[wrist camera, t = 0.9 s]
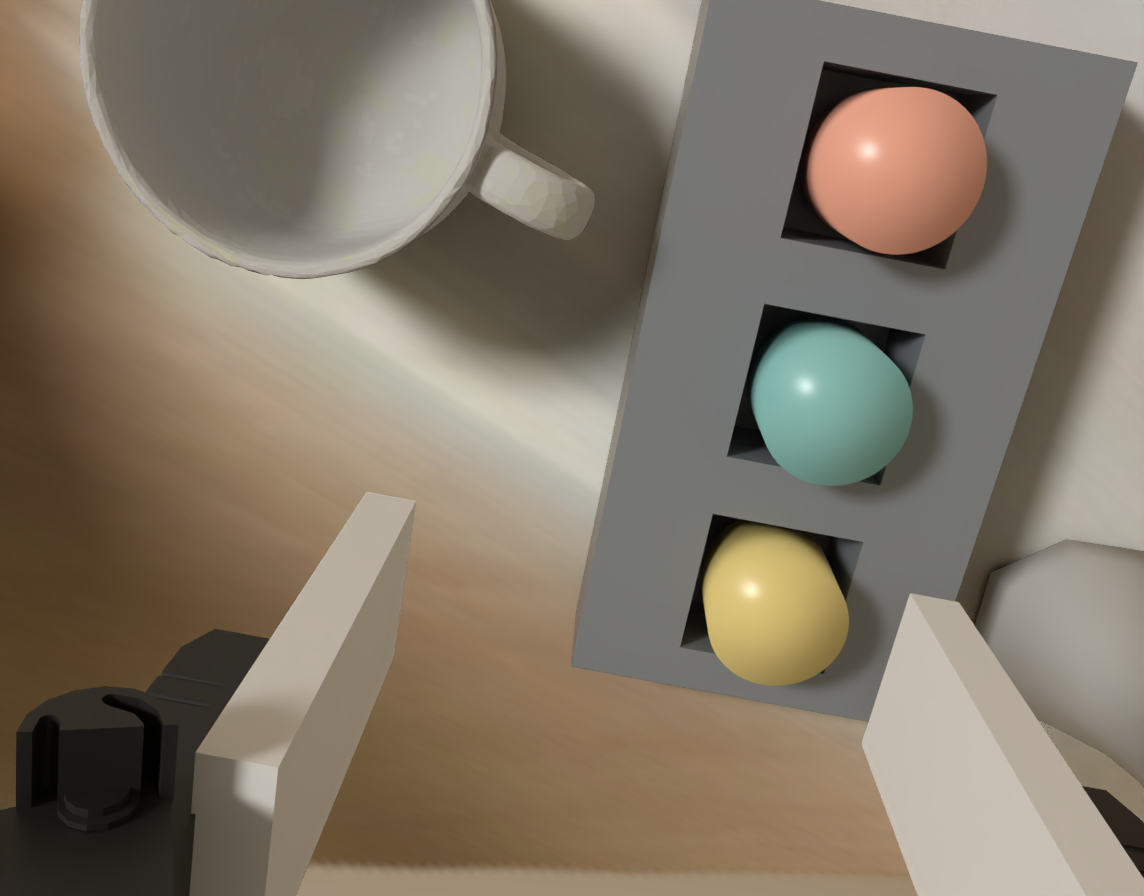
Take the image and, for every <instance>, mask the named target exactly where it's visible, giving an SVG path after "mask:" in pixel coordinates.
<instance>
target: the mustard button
mask: <svg viewBox="0 0 1144 896" xmlns="http://www.w3.org/2000/svg"><path fill="white" fill-rule="evenodd" d="M700 583H701V590H702V596H703V603H704V609H705V615H706V621H707V628H708V634H709V639H710V642H711V645H712V648H713V650H714V652H715V654H716V655H717V657H718V658H719V660H720V661H721V662H722V663H723V664H724V665H725V666H726V667H727V668H728V669H729V670H730V671H731V672H733V673H734V674H736V675H737V676H739V677H741V678H743V679H745V680H748V681H750V682H753V683H757V684H761V685H768V686H783V685H790V684H795V683H799V682H802V681H805V680H807V679H809V678H811V677H813V676H815V675H817V674H818V673H820V672H822V671H823V670H824V669H825V668H827V667H828V666H829V665H830V664H831V663H832V662H833V661H834V660H835V658H836V657H837V656H838V654H839V653H840V651H841V649H842V647H843V646H844V643H845V641H846V638H847V634H848V629H849V613H848V608H847V604H846V602H845V599H844V597H843V595H842V592H841V590H840V588H839V585H838V583H837V581H836V579H835V576H834V574H833V572H832V570H831V567H830V565H829V563H828V561H827V558H826V556H825V554H824V552H823V549H822V547H821V546H820V544H819V542H818V541H817V539H816V538H815V537H814V536H813V535H812V534H811V533H810V532H807V531H802V530H796V529H791V528H786V527H781V526H775V525H770V524H765V523H759V522H754V521H749V520H743V519H742V520H739V521H737V522H735V523H733V524H731V525H729V526H728V527H726V528H725V529H723V530H722V531H721V532H720V533H719V534H717V535H716V536H715V538H714V539H713V540H712V541H711V543H710V544H709V546H708V547H707V549H706V551H705V553H704V555H703V558H702V561H701V566H700Z"/></svg>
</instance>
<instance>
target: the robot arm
mask: <svg viewBox="0 0 1144 896" xmlns="http://www.w3.org/2000/svg"><path fill="white" fill-rule="evenodd" d="M415 506H416V501H414V500H409V499H403V498H398V497H393V496H387V495H382V494H377V493H371V492H366V493H365V495H364V496H363V498H362V499H361V501H360V502H359V504H358V505H357V507H356V509H355V510H354V512H353V513H352V515H351V516H350V518H349V519H348V521H347V522H346V524H345V525H344V527H343V528H342V530H341V531H340V533H339V534H338V536H337V537H336V539H335V541H334V542H333V544H332V545H331V547H330V548H329V550H328V551H327V553H326V554H325V556H324V557H323V559H322V560H321V562H320V563H319V565H318V566H317V568H316V569H315V571H314V573H313V574H312V576H311V577H310V579H309V580H308V582H307V583H306V585H305V586H304V588H303V589H302V591H301V592H300V594H299V595H298V597H297V598H296V600H295V602H294V603H293V605H292V606H291V608H290V609H289V611H288V612H287V614H286V615H285V617H284V618H283V620H282V621H281V623H280V624H279V626H278V627H277V629H276V630H275V632H274V634H273V635H272V637H271V638H270V639H267V638H262V637H256V636H251V635H245V634H240V633H235V632H229V631H224V630H218V629H214V630H212V631H211V632H209V633H207V634H205V635H203V636H201V637H199V638H198V639H196V640H194V641H192V642H190V643H188V644H186V645H184V646H183V647H181V649H180V650H179V651H178V652H177V654H176V655H175V656H174V657H173V659H172V660H171V661H170V662H169V664H168V665H167V666H166V667H165V669H164V670H163V671H162V675H161V676H158V677H157V678H156V680H155V681H154V682H153V683H152V685H151V686H150V687H149V688H148V690H147V691H146V693H145V692H142V691H139V690H136V689H131V688H117V687H98V688H91V689H83V690H76V691H72V692H69V693H67V694H64V695H61V696H58V697H56V698H53V699H50V700H47V701H46V702H44V703H43V704H42V705H40V706H39V707H37V708H36V709H34V710H33V711H32V712H30V713H29V714H27V715H26V717H25V719H24V721H23V722H22V724H21V726H20V727H19V729H18V731H17V740H16V807H12V808H8V809H3V810H0V896H296V894H297V891H298V889H299V886H300V884H301V882H302V879H303V877H304V874H305V872H306V870H307V867H308V865H309V862H310V860H311V857H312V855H313V853H314V850H315V848H316V845H317V843H318V840H319V838H320V836H321V833H322V831H323V828H324V826H325V823H326V821H327V819H328V816H329V814H330V811H331V809H332V806H333V804H334V802H335V799H336V797H337V794H338V792H339V789H340V787H341V785H342V782H343V780H344V777H345V775H346V772H347V770H348V768H349V765H350V763H351V760H352V758H353V755H354V753H355V751H356V748H357V746H358V743H359V741H360V738H361V736H362V734H363V731H364V729H365V726H366V724H367V721H368V719H369V717H370V714H371V712H372V709H373V707H374V704H375V702H376V700H377V697H378V695H379V692H380V690H381V687H382V685H383V683H384V680H385V678H386V675H387V673H388V670H389V668H390V666H391V663H392V661H393V658H394V653H395V646H396V639H397V632H398V625H399V618H400V611H401V604H402V597H403V590H404V583H405V576H406V569H407V562H408V555H409V548H410V541H411V534H412V527H413V520H414V513H415ZM862 747H863V749H864V752H865V755H866V757H867V760H868V763H869V765H870V768H871V771H872V774H873V776H874V779H875V782H876V784H877V787H878V790H879V792H880V795H881V798H882V801H883V803H884V806H885V809H886V811H887V814H888V817H889V819H890V822H891V825H892V828H893V830H894V833H895V836H896V838H897V841H898V844H899V846H900V849H901V852H902V855H903V857H904V860H905V863H906V865H907V868H908V871H909V873H910V876H911V879H912V882H913V884H914V887H915V890H916V892H917V895H918V896H1144V823H1143V822H1142V820H1140V819H1139V818H1138V817H1137V816H1136V815H1135V814H1133V813H1132V812H1131V811H1130V810H1129V809H1127V808H1126V807H1125V806H1124V805H1123V804H1122V803H1120V802H1119V801H1118V800H1117V799H1116V798H1114V797H1113V796H1112V795H1111V794H1110V793H1109V792H1107V791H1106V790H1101V789H1095V788H1090V787H1085V786H1081V784H1080V783H1079V781H1078V780H1077V778H1076V777H1075V775H1074V774H1073V772H1072V771H1071V769H1070V768H1069V766H1068V765H1067V763H1066V762H1065V760H1064V759H1063V757H1062V756H1061V754H1060V753H1059V751H1058V750H1057V748H1056V747H1055V745H1054V744H1053V742H1052V741H1051V739H1050V738H1049V736H1048V735H1047V733H1046V732H1045V730H1044V729H1043V727H1042V726H1041V724H1040V723H1039V721H1038V720H1037V718H1036V717H1035V715H1034V714H1033V712H1032V711H1031V709H1030V708H1029V706H1028V705H1027V703H1026V702H1025V700H1024V699H1023V697H1022V696H1021V694H1020V693H1019V691H1018V690H1017V688H1016V687H1015V685H1014V684H1013V682H1012V681H1011V679H1010V678H1009V676H1008V675H1007V673H1006V672H1005V670H1004V669H1003V667H1002V666H1001V664H1000V663H999V661H998V660H997V658H996V657H995V655H994V654H993V652H992V651H991V649H990V648H989V646H988V645H987V643H986V642H985V640H984V639H983V638H982V636H981V635H980V633H979V632H978V630H977V629H976V627H975V626H974V624H973V623H972V621H971V620H970V618H969V617H968V615H967V614H966V612H965V611H964V609H963V608H962V606H961V605H960V603H959V602H955V601H950V600H944V599H939V598H934V597H928V596H923V595H917V594H912V593H910V595H909V598H908V601H907V604H906V607H905V610H904V613H903V617H902V620H901V623H900V626H899V629H898V632H897V635H896V638H895V641H894V645H893V648H892V651H891V654H890V657H889V660H888V663H887V666H886V669H885V673H884V676H883V679H882V682H881V685H880V688H879V691H878V694H877V697H876V701H875V704H874V707H873V710H872V713H871V716H870V719H869V722H868V725H867V729H866V732H865V735H864V738H863V741H862Z"/></svg>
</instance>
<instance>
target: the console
mask: <svg viewBox="0 0 1144 896" xmlns="http://www.w3.org/2000/svg"><path fill="white" fill-rule="evenodd" d="M1136 66H1137V62H1132V61H1127V60H1122V59H1117V58H1112V57H1107V56H1101V55H1096V54H1091V53H1086V52H1081V51H1076V50H1071V49H1065V48H1060V47H1055V46H1050V45H1045V44H1040V43H1035V42H1030V41H1024V40H1019V39H1014V38H1009V37H1004V36H999V35H994V34H988V33H983V32H978V31H973V30H968V29H963V28H958V27H953V26H947V25H942V24H937V23H932V22H927V21H922V20H917V19H911V18H906V17H901V16H896V15H891V14H886V13H881V12H876V11H870V10H865V9H860V8H855V7H850V6H845V5H840V4H834V3H829V2H824V1H819V0H702V3H701V8H700V12H699V17H698V22H697V27H696V32H695V37H694V42H693V46H692V51H691V56H690V61H689V66H688V71H687V76H686V80H685V85H684V90H683V95H682V100H681V105H680V110H679V115H678V119H677V124H676V129H675V134H674V139H673V144H672V149H671V153H670V158H669V163H668V168H667V173H666V178H665V183H664V187H663V192H662V197H661V202H660V207H659V212H658V217H657V221H656V226H655V231H654V236H653V241H652V246H651V251H650V255H649V260H648V265H647V270H646V275H645V280H644V285H643V290H642V294H641V299H640V304H639V309H638V314H637V319H636V324H635V328H634V333H633V338H632V343H631V348H630V353H629V358H628V362H627V367H626V372H625V377H624V382H623V387H622V392H621V396H620V401H619V406H618V411H617V416H616V421H615V426H614V431H613V435H612V440H611V445H610V450H609V455H608V460H607V465H606V469H605V474H604V479H603V484H602V489H601V494H600V499H599V503H598V508H597V513H596V518H595V523H594V528H593V533H592V537H591V542H590V547H589V552H588V557H587V562H586V567H585V571H584V576H583V581H582V586H581V591H580V596H579V601H578V606H577V610H576V619H575V630H574V640H573V651H572V662H571V667H576V668H582V669H587V670H592V671H598V672H603V673H608V674H614V675H619V676H625V677H630V678H635V679H641V680H646V681H652V682H657V683H662V684H668V685H673V686H678V687H684V688H689V689H695V690H700V691H705V692H711V693H716V694H722V695H727V696H732V697H738V698H743V699H748V700H754V701H759V702H765V703H770V704H775V705H781V706H786V707H791V708H797V709H802V710H808V711H813V712H818V713H824V714H829V715H835V716H840V717H845V718H851V719H856V720H861V721H867V722H869V719H870V716H871V713H872V710H873V707H874V704H875V701H876V697H877V694H878V691H879V688H880V685H881V682H882V679H883V676H884V673H885V669H886V666H887V663H888V660H889V657H890V654H891V651H892V648H893V645H894V641H895V638H896V635H897V632H898V629H899V626H900V623H901V620H902V617H903V613H904V610H905V607H906V604H907V601H908V598H909V595H910V593H912V594H917V595H923V596H928V597H934V598H939V599H944V600H950V601H956V598H957V595H958V592H959V589H960V586H961V583H962V580H963V577H964V574H965V571H966V568H967V565H968V562H969V559H970V556H971V553H972V551H973V548H974V545H975V542H976V539H977V536H978V533H979V530H980V527H981V524H982V521H983V518H984V515H985V512H986V509H987V506H988V503H989V500H990V497H991V494H992V491H993V489H994V486H995V483H996V480H997V477H998V474H999V471H1000V468H1001V465H1002V462H1003V459H1004V456H1005V453H1006V450H1007V447H1008V444H1009V441H1010V438H1011V435H1012V432H1013V429H1014V426H1015V424H1016V421H1017V418H1018V415H1019V412H1020V409H1021V406H1022V403H1023V400H1024V397H1025V394H1026V391H1027V388H1028V385H1029V382H1030V379H1031V376H1032V373H1033V370H1034V367H1035V364H1036V362H1037V359H1038V356H1039V353H1040V350H1041V347H1042V344H1043V341H1044V338H1045V335H1046V332H1047V329H1048V326H1049V323H1050V320H1051V317H1052V314H1053V311H1054V308H1055V305H1056V302H1057V300H1058V297H1059V294H1060V291H1061V288H1062V285H1063V282H1064V279H1065V276H1066V273H1067V270H1068V267H1069V264H1070V261H1071V258H1072V255H1073V252H1074V249H1075V246H1076V243H1077V240H1078V238H1079V235H1080V232H1081V229H1082V226H1083V223H1084V220H1085V217H1086V214H1087V211H1088V208H1089V205H1090V202H1091V199H1092V196H1093V193H1094V190H1095V187H1096V184H1097V181H1098V178H1099V176H1100V173H1101V170H1102V167H1103V164H1104V161H1105V158H1106V155H1107V152H1108V149H1109V146H1110V143H1111V140H1112V137H1113V134H1114V131H1115V128H1116V125H1117V122H1118V119H1119V116H1120V114H1121V111H1122V108H1123V105H1124V102H1125V99H1126V96H1127V93H1128V90H1129V87H1130V84H1131V81H1132V78H1133V75H1134V72H1135V69H1136ZM899 87H921V88H928V89H932V90H936V91H939V92H941V93H944V94H946V95H948V96H950V97H951V98H953V99H955V100H956V101H958V102H959V103H960V104H961V105H962V106H963V107H965V108H966V110H967V111H968V112H969V113H970V114H971V115H972V117H973V118H974V120H975V121H976V123H977V124H978V126H979V129H980V131H981V133H982V135H983V139H984V142H985V146H986V153H987V172H986V179H985V183H984V188H983V190H982V193H981V196H980V199H979V201H978V202H977V204H976V206H975V208H974V210H973V211H972V213H971V214H970V216H969V217H968V219H967V220H966V221H965V222H964V223H963V224H962V226H961V227H960V228H958V229H957V230H956V231H955V232H954V233H953V234H952V235H950V236H949V237H948V238H946V239H945V240H944V241H942V242H940V243H938V244H936V245H935V246H932V247H930V248H928V249H925V250H922V251H918V252H915V253H909V254H895V255H892V254H884V253H879V252H875V251H871V250H869V249H867V248H864V247H862V246H860V245H859V244H857V243H855V242H853V241H852V240H850V239H849V238H847V237H845V236H844V235H842V234H840V233H839V232H837V231H836V230H834V229H832V228H831V227H829V226H828V225H826V224H825V223H824V222H823V221H821V220H820V218H819V217H818V216H817V215H816V214H815V213H814V211H813V210H812V209H811V207H810V206H809V204H808V202H807V200H806V198H805V195H804V192H803V189H802V184H801V178H800V161H801V155H802V150H803V147H804V144H805V141H806V139H807V136H808V134H809V132H810V131H811V129H812V127H813V126H814V124H815V123H816V121H817V120H818V119H819V118H820V116H821V115H822V114H823V113H824V112H825V111H826V110H827V109H828V108H829V107H831V106H832V105H833V104H835V103H836V102H837V101H839V100H841V99H843V98H844V97H846V96H848V95H851V94H853V93H856V92H859V91H863V90H868V89H878V88H899ZM818 316H823V317H831V318H835V319H839V320H842V321H845V322H847V323H849V324H851V325H853V326H854V327H856V328H857V329H859V330H860V331H861V332H863V333H864V334H865V335H866V336H867V337H868V338H869V339H870V340H871V341H872V342H873V343H874V344H875V345H876V346H877V347H878V348H879V349H880V350H881V351H882V352H883V353H884V354H885V355H886V356H887V357H888V358H889V359H890V360H891V361H892V362H893V363H894V364H895V365H896V366H897V367H898V368H899V369H900V371H901V372H902V374H903V375H904V377H905V379H906V381H907V383H908V386H909V388H910V391H911V396H912V401H913V416H912V423H911V427H910V431H909V433H908V436H907V439H906V440H905V442H904V444H903V446H902V448H901V449H900V451H899V452H898V453H897V455H896V456H895V457H894V458H893V459H892V460H891V461H890V463H888V464H887V465H886V466H885V467H884V468H883V469H881V470H880V471H878V472H877V473H875V474H874V475H872V476H870V477H868V478H866V479H863V480H861V481H858V482H855V483H851V484H847V485H839V486H824V485H817V484H813V483H809V482H806V481H803V480H801V479H799V478H797V477H795V476H793V475H791V474H790V473H789V472H787V471H786V470H785V469H783V468H782V467H781V466H780V465H779V464H778V463H777V462H776V460H775V459H774V458H773V456H772V455H771V453H770V452H769V450H768V448H767V446H766V444H765V441H764V439H763V436H762V434H761V431H760V429H759V427H758V424H757V422H756V419H755V417H754V414H753V412H752V409H751V407H750V404H749V401H748V396H747V375H748V370H749V367H750V364H751V361H752V359H753V357H754V355H755V353H756V351H757V350H758V348H759V347H760V345H761V344H762V343H763V342H764V341H765V339H766V338H768V337H769V336H770V335H771V334H772V333H773V332H774V331H776V330H777V329H779V328H780V327H782V326H784V325H786V324H787V323H790V322H792V321H795V320H798V319H802V318H807V317H818ZM742 519H743V520H749V521H754V522H759V523H765V524H770V525H775V526H781V527H786V528H791V529H796V530H802V531H807V532H810V533H811V534H812V535H813V536H814V537H815V538H816V539H817V541H818V542H819V544H820V546H821V547H822V549H823V552H824V554H825V556H826V558H827V561H828V563H829V565H830V567H831V570H832V572H833V574H834V576H835V579H836V581H837V583H838V585H839V588H840V590H841V592H842V595H843V597H844V599H845V602H846V604H847V608H848V613H849V629H848V634H847V638H846V641H845V643H844V646H843V647H842V649H841V651H840V653H839V654H838V656H837V657H836V658H835V660H834V661H833V662H832V663H831V664H830V665H829V666H828V667H827V668H825V669H824V670H823V671H822V672H820V673H818V674H817V675H815V676H813V677H811V678H809V679H807V680H805V681H802V682H799V683H795V684H790V685H783V686H768V685H761V684H757V683H753V682H750V681H748V680H745V679H743V678H741V677H739V676H737V675H736V674H734V673H733V672H731V671H730V670H729V669H728V668H727V667H726V666H725V665H724V664H723V663H722V662H721V661H720V660H719V658H718V657H717V655H716V654H715V652H714V650H713V648H712V645H711V642H710V639H709V634H708V628H707V621H706V615H705V609H704V603H703V596H702V590H701V583H700V566H701V561H702V558H703V555H704V553H705V551H706V549H707V547H708V546H709V544H710V543H711V541H712V540H713V539H714V538H715V536H716V535H717V534H719V533H720V532H721V531H722V530H723V529H725V528H726V527H728V526H729V525H731V524H733V523H735V522H737V521H739V520H742Z"/></svg>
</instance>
